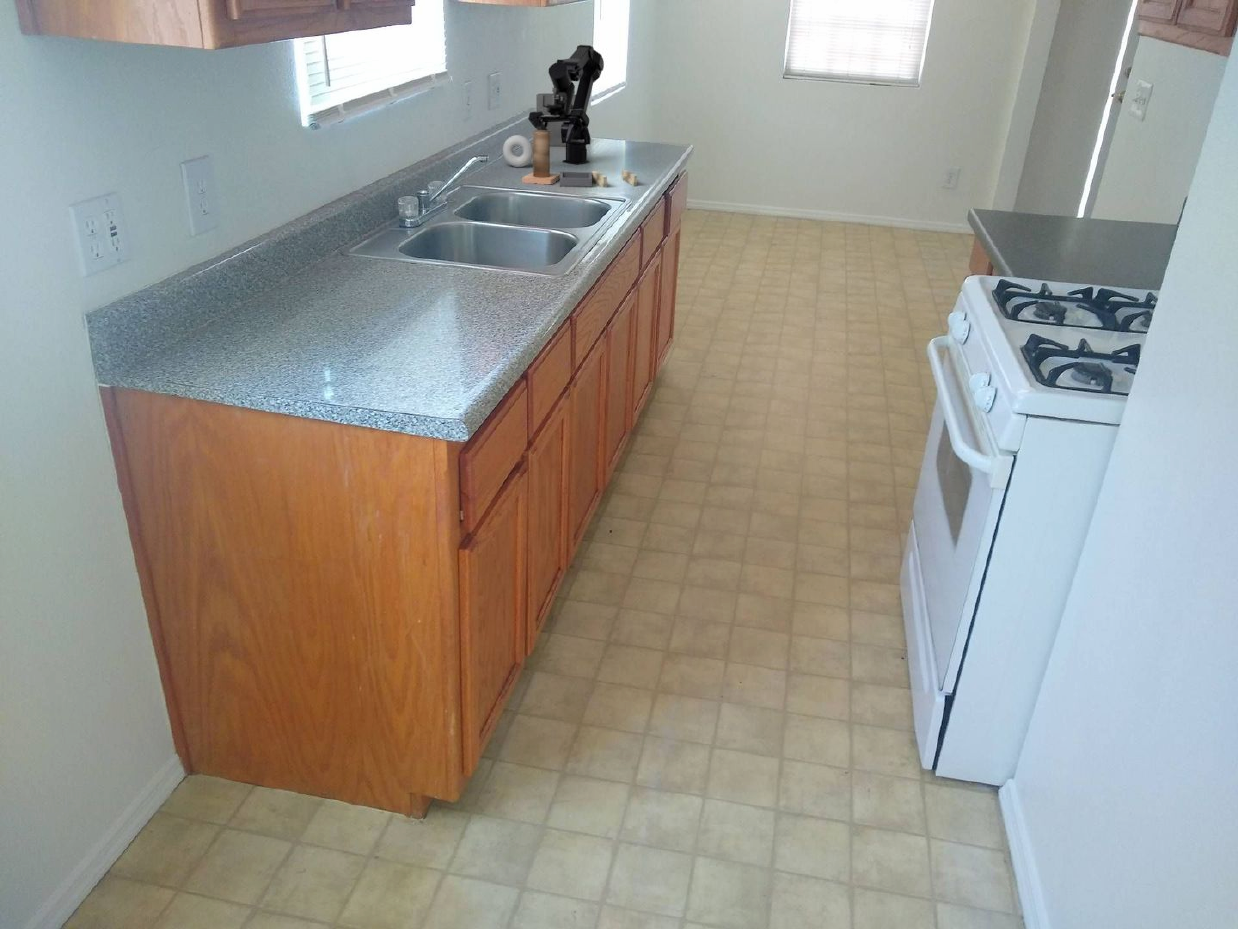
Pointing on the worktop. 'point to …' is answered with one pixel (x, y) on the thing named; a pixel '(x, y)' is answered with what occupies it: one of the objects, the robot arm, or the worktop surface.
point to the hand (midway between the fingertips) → (553, 143)
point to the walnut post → (541, 153)
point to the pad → (540, 179)
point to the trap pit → (576, 179)
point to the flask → (552, 126)
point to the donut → (524, 144)
